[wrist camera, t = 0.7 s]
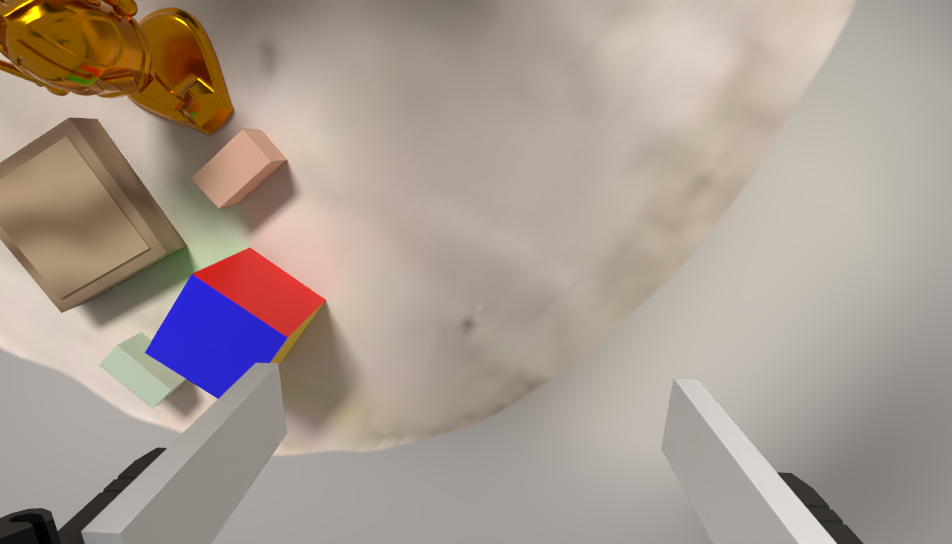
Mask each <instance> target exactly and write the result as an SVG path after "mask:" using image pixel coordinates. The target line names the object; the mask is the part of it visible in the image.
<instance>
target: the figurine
mask: <svg viewBox="0 0 952 544" xmlns="http://www.w3.org/2000/svg"><path fill="white" fill-rule="evenodd" d="M137 10H138V8H137V4H136V2H135V1H134V0H0V52H1V53H2V54H3V55H4V56H5V57H6V58H8V59H9V60H10V61H11V63H9V62H6V61H3V60H0V70H2V71H4V72H7V73H10V74H12V75H15V76H17V77H20V78H23V79H25V80H28V81H30V82H33V83H35V84H36V85H38V86H40V87H43V86H44V87H46V88H47V90H48V91H49V92H51V93H52V94H55V95H58V96H65V95H67V94H69V93H70V92H72V93H75V94H78V95H84V96H90V95H98V96H100V97H104V98H118V97H123V96H127V97H128V98H129V99H131V100H132V101H133V102H134V103H136V104H137V105H139V106H141V107H142V108H144V109H146V110H148V111H150V112H152V113H154V114H157V115H159V116H161V117H164V118H166V119H168V120H171V121H174V122H176V123H179V124H182V125H184V126H187V127H190V128H192V129H195V130H197V131H200V132H202V133H204V134H207V135H211V134H213V133H214V132H216V131H217V130H219V129H220V128H221V127H222V126H223V125H224V124H225V123H226V122H227V121H228V119H229V118H230V116H231V115H232V113H233V111H234V110H233V107H232V104H231V101H230V98H229V95H228V92H227V89H226V85H225V82H224V79H223V76H222V72H221V69H220V66H219V63H218V60H217V58H216V55H215V52H214V49H213V47H212V45H211V42H210V40H209V38H208V36H207V34H206V32H205V30H204V29H203V27H202V26H201V24H200V23H199V22H198V20H197V19H196V18H195V17H194V16H192V15H191V14H190V13H188V12H186V11H184V10H182V9H178V8H163V9H160V10H157V11H155V12H153V13H151V14H149V15H148V16H146V17H145V18H143V19H142V20H141V21H140V22H139V23H137V21H136V20H135V19H134V18H133V16H134V15H135V14H136V13H137Z"/></svg>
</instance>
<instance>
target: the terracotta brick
mask: <svg viewBox="0 0 952 544" xmlns="http://www.w3.org/2000/svg"><path fill="white" fill-rule="evenodd" d="M286 160H287V159H286V158H285V157H284V155H283V154H282V153H281V152H280V151H279V150H278V149H277V147H276V146H275V145H274V144H273V143H272V142H271V140H270V139H269V138H268V137H267V136H266V135H265V133H264V132H263V131H262V130H257V129H242V130H241V131H240V132H239V133H238V134H237V135H236V136H235V137H234V138H233V139H232V140H231V141H230V142H229V143H228V144H226V145H225V146H224V147H223V148H222V149H221V150H220V151H219V152H218V153H217V154H216V155H215V156H214V157H213V158H212V159H211V160H210V161H208V162H207V163H206V164H205V165H204V166H203V167H202V168H201V169H200V170H199V171H198V172H197V173H196V174H195V175H194V176H193V177H192V178H191V179H192V180H193V181H194V182H195V184H196V185H197V186H198V187H199V188H200V189H201V190H202V191H203V192H204V193H205V194H206V195H207V196H208V198H209V199H210V200H211V201H212V202H213V203H214V204H215V205H216V206H217V207H218V208H223V207H226V206H230V205H234V204H238V203H239V202H240V201H241V200H242V199H243V198H245V197H246V196H247V195H248V194H249V193H250V192H251V191H252V190H254V189H255V188H256V187H257V186H258V185H259V184H260V183H261V182H262V181H264V180H265V179H266V178H267V177H268V176H269V175H270V174H271V173H272V172H274V171H275V170H276V169H277V168H278V167H279V166H280V165H281V164H283V163H284V162H285V161H286Z"/></svg>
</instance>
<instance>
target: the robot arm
mask: <svg viewBox="0 0 952 544" xmlns="http://www.w3.org/2000/svg"><path fill="white" fill-rule="evenodd" d="M286 434H287V430H286V422H285V413H284V405H283V397H282V389H281V380H280V372H279V364H276V363H255V364H254V365H253V366H252V367H251V368H250V369H249V370H248V371H247V372H246V373H245V374H244V375H243V376H242V377H241V378H240V379H239V380H238V381H237V382H235V383H234V384H233V385H232V386H231V387H230V388H229V389H228V390H227V391H226V392H225V393H224V394H223V395H222V396H221V397H220V398H219V399H218V400H217V401H216V402H215V403H214V404H213V405H212V406H211V407H210V408H208V409H207V410H206V411H205V412H204V413H203V414H202V415H201V416H200V417H199V418H198V419H197V420H196V421H195V422H194V423H193V424H192V425H191V426H190V427H189V428H188V429H187V430H186V431H185V432H184V433H183V434H182V435H181V436H180V437H178V438H177V439H176V440H175V441H174V442H173V443H172V444H171V445H170V446H169V447H168V448H156V449H154V450H152V451H151V452H149V453H147V454H146V455H144V456H142V457H141V458H139V459H137V460H135V461H134V462H133V463H132V464H131V465H130V466H129V467H128V468H127V469H125V470H124V471H123V472H122V473H121V474H120V475H119V476H118V479H117V480H115V479H114V480H113V481H112V482H111V483H110V484H109V485H108V486H107V487H106V488H105V489H104V491H103V493H99V494H98V495H97V496H96V497H95V498H94V499H93V500H92V501H90V502H89V503H88V504H87V505H86V506H85V507H84V508H83V509H82V510H80V511H79V512H78V513H77V514H76V515H75V516H74V517H73V518H72V519H71V520H70V521H68V522H67V523H66V524H65V525H64V526H63V527H62V528H61V529H60V530H59V531H57V528H56V525H55V522H54V519H53V516H52V513H51V511H48V510H46V509H43V508H38V509H26V510H22V511H19V512H15V513H11V514H9V515H6V516H4V517H2V518H0V544H211V543H212V542H213V540H214V539H215V537H216V536H217V534H218V533H219V531H220V530H221V529H222V527H223V525H224V524H225V523H226V521H227V520H228V518H229V517H230V515H231V514H232V513H233V511H234V510H235V508H236V507H237V505H238V504H239V502H240V501H241V499H242V498H243V497H244V495H245V494H246V492H247V491H248V489H249V488H250V486H251V485H252V483H253V482H254V481H255V479H256V478H257V476H258V475H259V473H260V472H261V470H262V469H263V467H264V466H265V464H266V463H267V462H268V460H269V459H270V457H271V456H272V454H273V453H274V451H275V450H276V448H277V447H278V446H279V444H280V443H281V441H282V440H283V438H284V437H285V435H286ZM662 451H663V453H664V454H665V456H666V458H667V460H668V461H669V464H670V465H671V467H672V469H673V471H674V472H675V474H676V476H677V478H678V480H679V482H680V484H681V486H682V487H683V489H684V491H685V493H686V495H687V496H688V498H689V500H690V502H691V504H692V506H693V508H694V509H695V511H696V513H697V515H698V517H699V518H700V520H701V522H702V524H703V526H704V528H705V529H706V531H707V533H708V535H709V537H710V539H711V541H712V542H713V544H863V543H862V542H861V540H860V539H859V538H858V537H857V536H856V535H855V534H854V533H853V532H852V531H851V529H850V528H849V527H848V526H847V525H844V524H843V521H842V520H841V519H840V517H839V516H838V515H837V514H836V513H835V512H834V511H833V510H830V509H829V506H828V504H827V503H826V502H825V501H824V500H823V499H822V498H821V497H820V496H819V495H818V493H817V492H816V491H815V490H814V489H813V488H812V487H810V486H809V485H807V484H806V483H805V482H803V481H802V480H800V479H799V478H797V477H796V476H795V475H793V474H792V473H778V472H776V471H775V470H774V469H773V468H772V467H771V465H770V464H769V463H768V462H767V461H766V459H765V458H764V457H763V456H762V455H761V454H760V452H759V451H758V450H757V449H756V448H755V447H754V445H753V444H752V443H751V442H750V441H749V439H748V438H747V437H746V436H745V435H744V434H743V433H742V431H741V430H740V429H739V428H738V427H737V425H736V424H735V423H734V422H733V421H732V419H731V418H730V417H729V416H728V415H727V414H726V413H725V411H724V410H723V409H722V408H721V406H720V405H719V404H718V403H717V402H716V401H715V399H714V398H713V397H712V396H711V395H710V394H709V392H708V391H707V390H706V389H705V388H704V387H703V385H702V384H701V383H700V382H699V381H698V379H677V378H674V380H673V386H672V391H671V397H670V403H669V409H668V414H667V420H666V425H665V431H664V437H663V443H662Z"/></svg>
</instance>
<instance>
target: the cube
mask: <svg viewBox="0 0 952 544" xmlns="http://www.w3.org/2000/svg"><path fill="white" fill-rule="evenodd" d="M325 301H326V300H325V299H324V298H322V297H321V296H319V295H318V294H316V293H315V292H313V291H312V290H311V289H309V288H308V287H306V286H305V285H303V284H302V283H300V282H299V281H298V280H296V279H295V278H293V277H292V276H290V275H289V274H287V273H286V272H284V271H283V270H282V269H280V268H279V267H277V266H276V265H274V264H273V263H271V262H270V261H269V260H267V259H266V258H264V257H263V256H261V255H260V254H258V253H257V252H256V251H254V250H253V249H251V248H248V249H246V250H243V251H241V252H239V253H237V254H235V255H232V256H230V257H228V258H226V259H224V260H221V261H219V262H217V263H215V264H213V265H211V266H208V267H206V268H204V269H202V270H200V271H197V272H195V273H193V274H192V275H191V277H190V278H189V280H188V282H187V283H186V285H185V286H184V288H183V290H182V291H181V293H180V295H179V296H178V298H177V300H176V301H175V303H174V305H173V306H172V308H171V310H170V311H169V313H168V315H167V316H166V318H165V320H164V321H163V323H162V325H161V326H160V328H159V330H158V331H157V333H156V335H155V336H154V338H153V340H152V341H151V343H150V345H149V346H148V348H147V350H146V351H145V353H146V354H147V355H149V356H150V357H152V358H154V359H155V360H157V361H158V362H160V363H162V364H163V365H165V366H166V367H168V368H170V369H171V370H173V371H174V372H176V373H178V374H179V375H181V376H182V377H184V378H186V379H187V380H189V381H190V382H192V383H194V384H195V385H197V386H198V387H200V388H202V389H203V390H205V391H206V392H208V393H210V394H211V395H213V396H214V397H216V398H218V399H219V398H220V397H221V396H222V395H223V394H224V393H225V392H226V391H227V390H228V389H229V388H230V387H231V386H232V385H233V384H234V383H235V382H237V381H238V380H239V379H240V378H241V377H242V376H243V375H244V374H245V373H246V372H247V371H248V370H249V369H250V368H251V367H252V366H253V365H254V364H255V363H276V364H280V363H281V362H282V361H283V359H284V358H285V357H286V355H287V354H288V352H289V351H290V350H291V348H292V347H293V345H294V344H295V343H296V341H297V340H298V338H299V337H300V336H301V334H302V333H303V332H304V330H305V329H306V327H307V326H308V325H309V323H310V322H311V320H312V319H313V318H314V316H315V315H316V313H317V312H318V311H319V309H320V308H321V306H322V305H323V304H324V302H325Z"/></svg>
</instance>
